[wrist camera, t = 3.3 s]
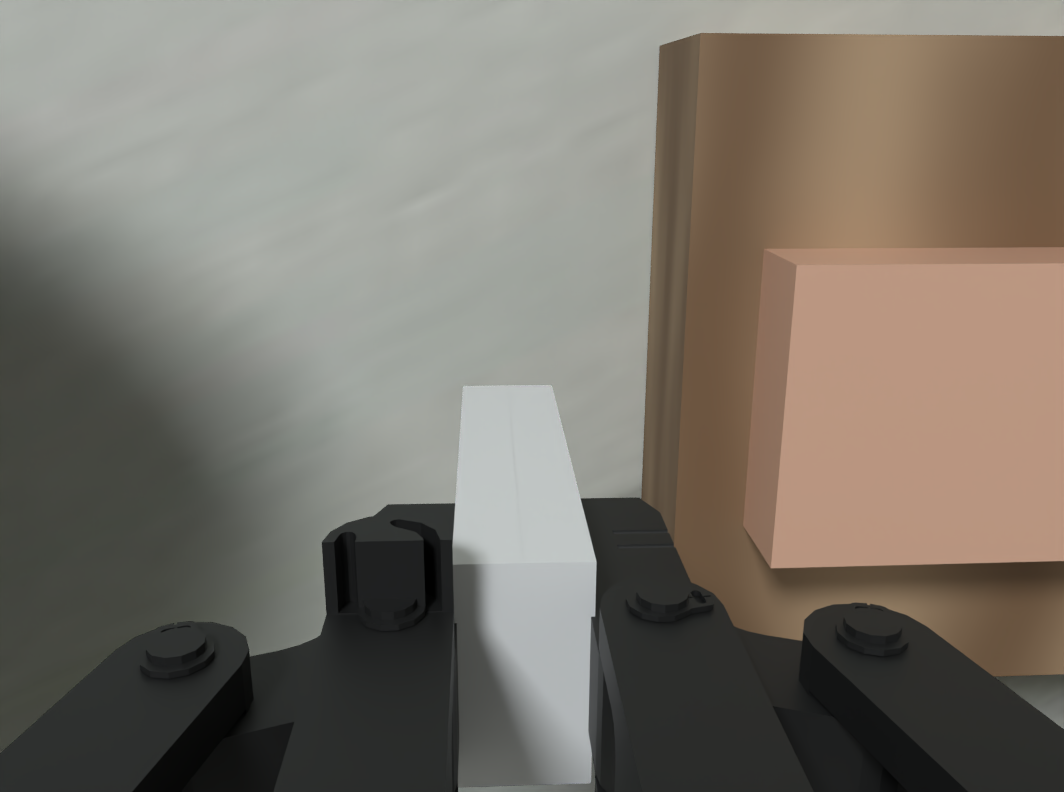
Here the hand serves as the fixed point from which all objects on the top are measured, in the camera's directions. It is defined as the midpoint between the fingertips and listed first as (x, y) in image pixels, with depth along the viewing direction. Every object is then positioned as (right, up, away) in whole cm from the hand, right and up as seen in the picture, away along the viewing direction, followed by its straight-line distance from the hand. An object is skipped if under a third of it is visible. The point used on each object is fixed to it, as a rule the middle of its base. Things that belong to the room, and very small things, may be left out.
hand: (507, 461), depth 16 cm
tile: (+9, +1, +4) cm, 10 cm away
